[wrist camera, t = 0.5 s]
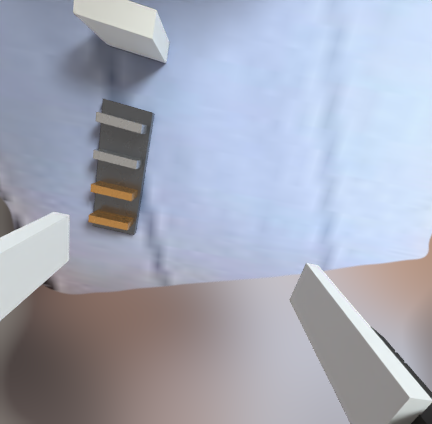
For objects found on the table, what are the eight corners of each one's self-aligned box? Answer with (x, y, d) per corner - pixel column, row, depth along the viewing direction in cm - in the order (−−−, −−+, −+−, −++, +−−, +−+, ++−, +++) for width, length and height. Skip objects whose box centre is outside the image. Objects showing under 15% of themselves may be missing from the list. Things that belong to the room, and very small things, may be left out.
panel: (109, 22, 27) (74, -19, 20) (169, 42, 28) (156, 10, 21) (107, 44, 28) (73, 12, 21) (166, 63, 29) (152, 38, 22)
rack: (106, 99, 30) (93, 94, 27) (154, 113, 31) (148, 110, 28) (95, 223, 36) (84, 231, 33) (136, 232, 37) (129, 241, 34)
